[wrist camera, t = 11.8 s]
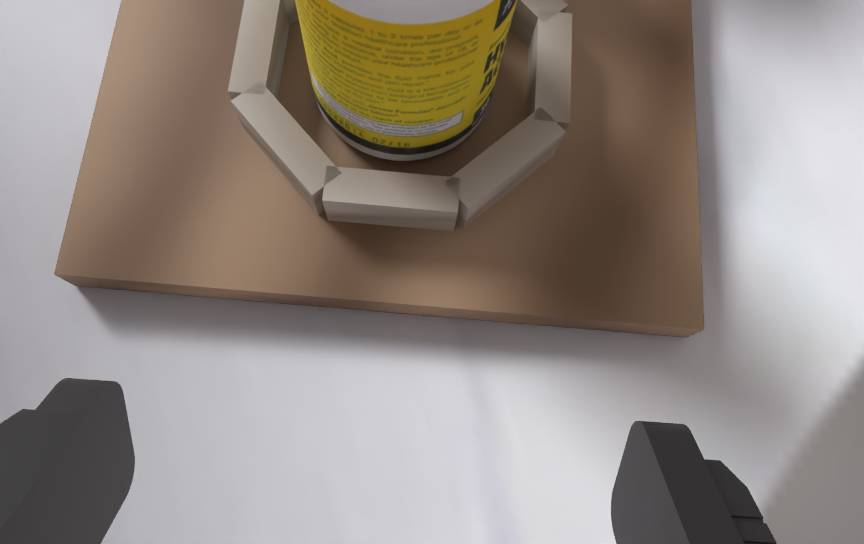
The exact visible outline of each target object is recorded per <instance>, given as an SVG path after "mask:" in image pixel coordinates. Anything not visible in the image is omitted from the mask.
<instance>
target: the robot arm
mask: <svg viewBox="0 0 864 544" xmlns="http://www.w3.org/2000/svg"><path fill="white" fill-rule="evenodd" d="M134 466H135V456H134V449H133V444H132V439H131V433H130V428H129V422H128V417H127V411H126V406H125V400H124V395H123V391H122V388H121V386H120V385H119V383H117V382H114V381H100V380H86V379H73V378H65V379H63V380H61V381H60V382H59V383H58V384H57V385H56V386H55V387H54V388H53V389H52V390H51V392H50V393H49V394H48V395H47V396H46V398H45V399H44V400H43V401H42V402H41V404H40V405H39V406H38V407H37V409H36V410H26V409H22V410H21V411H19V412H18V413H16V414H15V415H13V416H11V417H10V418H8V419H7V420H5V421H4V422H2V423H1V424H0V544H101V542H102V540H103V538H104V536H105V534H106V533H107V531H108V529H109V527H110V525H111V524H112V522H113V520H114V518H115V516H116V514H117V513H118V511H119V509H120V507H121V505H122V504H123V502H124V500H125V498H126V496H127V494H128V492H129V489H130V486H131V483H132V479H133V474H134ZM611 519H612V527H613V532H614V536H615V539H616V543H617V544H776V541H775V539H774V537H773V535H772V534H771V532H770V530H769V528H768V526H767V524H764V523H763V516H762V515H761V513H760V511H759V509H758V507H757V505H756V503H755V501H754V499H753V498H752V496H751V494H750V492H749V490H748V488H747V487H746V486H745V485H744V484H743V483H742V482H741V481H740V480H739V479H738V478H737V477H736V476H735V475H734V474H733V473H732V472H731V471H730V470H729V469H728V468H727V467H726V466H725V465H724V464H723V463H722V462H721V461H718V460H704V458H703V456H702V454H701V452H700V450H699V448H698V446H697V443H696V441H695V439H694V437H693V435H692V433H691V431H690V429H689V428H688V427H687V426H686V425H684V424H673V423H660V422H646V421H636V422H634V423H633V425H632V427H631V429H630V432H629V435H628V439H627V442H626V446H625V449H624V453H623V456H622V460H621V463H620V467H619V470H618V474H617V477H616V481H615V484H614V488H613V492H612V500H611Z"/></svg>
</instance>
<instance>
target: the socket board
mask: <svg viewBox="0 0 864 544" xmlns="http://www.w3.org/2000/svg"><path fill="white" fill-rule="evenodd" d="M54 274H55V275H56V276H58V277H60V278H62V279H64V280H66V281H67V282H69V283H71V284H73V285H75V286H85V287H97V288H109V289H121V290H133V291H145V292H156V293H168V294H180V295H192V296H204V297H215V298H227V299H239V300H251V301H263V302H275V303H286V304H298V305H310V306H322V307H334V308H346V309H357V310H369V311H381V312H393V313H405V314H417V315H428V316H440V317H452V318H464V319H476V320H488V321H499V322H511V323H523V324H535V325H547V326H559V327H570V328H582V329H594V330H606V331H618V332H630V333H641V334H653V335H665V336H677V337H688V336H690V335H693V334H695V333H697V332H700V331H702V330H704V314H703V289H702V264H701V240H700V215H699V190H698V166H697V141H696V116H695V92H694V67H693V42H692V18H691V0H517V2H516V7H515V10H514V14H513V17H512V21H511V25H510V28H509V32H508V36H507V40H506V44H505V48H504V52H503V56H502V59H501V63H500V67H499V70H498V74H497V80H496V84H495V88H494V91H493V94H492V97H491V100H490V102H489V105H488V108H487V110H486V112H485V115H484V116H483V118H482V120H481V122H480V123H479V124H478V126H477V127H476V129H475V130H474V131H473V132H472V133H471V134H470V135H469V136H468V137H467V138H466V139H465V140H464V141H462V142H461V143H460V144H458V145H457V146H455V147H454V148H452V149H450V150H448V151H446V152H444V153H441V154H439V155H436V156H433V157H430V158H426V159H420V160H412V161H394V160H388V159H382V158H378V157H375V156H372V155H369V154H366V153H364V152H362V151H360V150H358V149H356V148H355V147H353V146H351V145H350V144H348V143H347V142H346V141H344V140H343V139H342V138H341V137H340V136H339V135H338V134H337V133H336V132H335V131H334V130H333V129H332V128H331V127H330V125H329V124H328V123H327V121H326V120H325V118H324V116H323V115H322V113H321V111H320V109H319V106H318V103H317V101H316V98H315V94H314V90H313V86H312V82H311V77H310V72H309V67H308V62H307V57H306V52H305V47H304V42H303V37H302V32H301V27H300V22H299V17H298V12H297V7H296V3H295V0H121V4H120V8H119V12H118V16H117V20H116V25H115V29H114V33H113V37H112V41H111V45H110V49H109V53H108V57H107V61H106V65H105V69H104V73H103V77H102V82H101V86H100V90H99V94H98V98H97V102H96V106H95V110H94V114H93V118H92V122H91V126H90V130H89V135H88V139H87V143H86V147H85V151H84V155H83V159H82V163H81V167H80V171H79V175H78V179H77V183H76V188H75V192H74V196H73V200H72V204H71V208H70V212H69V216H68V220H67V224H66V228H65V232H64V236H63V241H62V245H61V249H60V253H59V257H58V261H57V265H56V269H55V273H54Z"/></svg>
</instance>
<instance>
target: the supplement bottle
mask: <svg viewBox="0 0 864 544" xmlns="http://www.w3.org/2000/svg"><path fill="white" fill-rule="evenodd" d="M516 2H517V0H295V3H296V7H297V12H298V17H299V22H300V27H301V32H302V37H303V42H304V47H305V52H306V57H307V62H308V67H309V72H310V77H311V82H312V86H313V90H314V94H315V98H316V101H317V103H318V106H319V109H320V111H321V113H322V115H323V116H324V118H325V120H326V121H327V123H328V124H329V125H330V127H331V128H332V129H333V130H334V131H335V132H336V133H337V134H338V135H339V136H340V137H341V138H342V139H343V140H344V141H346V142H347V143H348V144H350V145H351V146H353V147H355V148H356V149H358V150H360V151H362V152H364V153H366V154H369V155H372V156H375V157H378V158H382V159H388V160H394V161H412V160H420V159H426V158H430V157H433V156H436V155H439V154H441V153H444V152H446V151H448V150H450V149H452V148H454V147H455V146H457V145H458V144H460V143H461V142H462V141H464V140H465V139H466V138H467V137H468V136H469V135H470V134H471V133H472V132H473V131H474V130H475V129H476V127H477V126H478V124H479V123H480V122H481V120H482V118H483V116H484V115H485V112H486V110H487V108H488V105H489V102H490V100H491V97H492V94H493V91H494V88H495V84H496V80H497V74H498V70H499V67H500V63H501V59H502V56H503V52H504V48H505V44H506V40H507V36H508V32H509V28H510V25H511V21H512V17H513V14H514V10H515V7H516Z"/></svg>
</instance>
